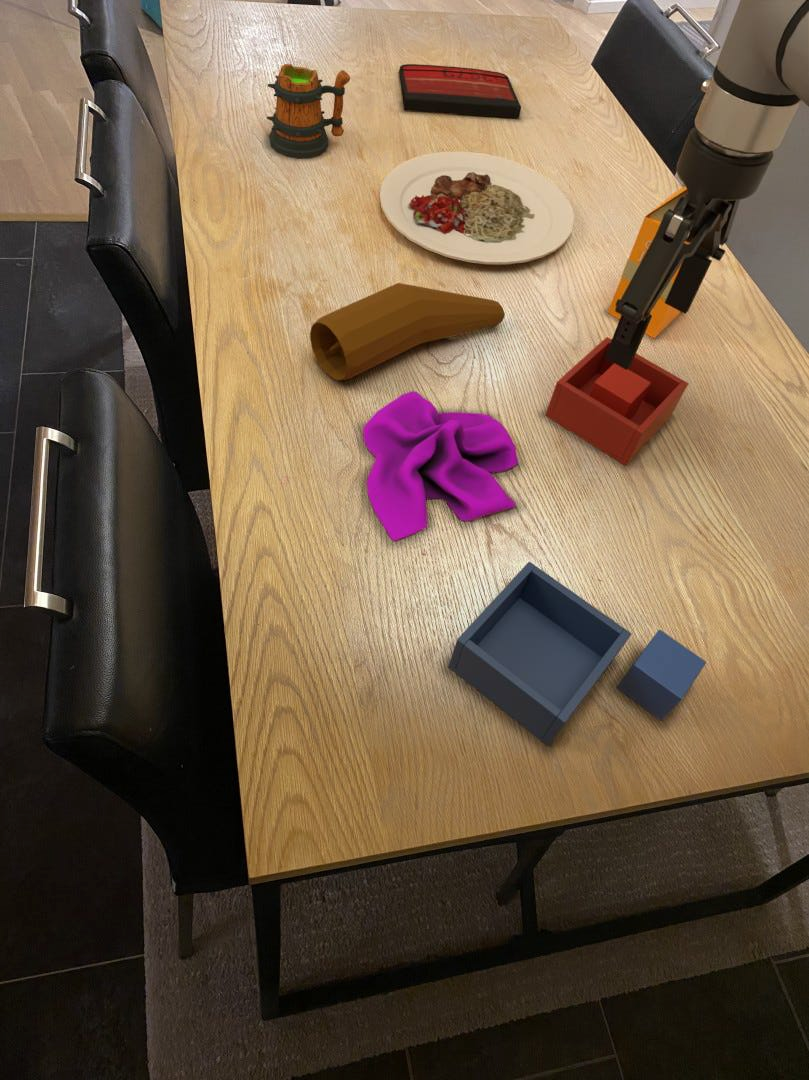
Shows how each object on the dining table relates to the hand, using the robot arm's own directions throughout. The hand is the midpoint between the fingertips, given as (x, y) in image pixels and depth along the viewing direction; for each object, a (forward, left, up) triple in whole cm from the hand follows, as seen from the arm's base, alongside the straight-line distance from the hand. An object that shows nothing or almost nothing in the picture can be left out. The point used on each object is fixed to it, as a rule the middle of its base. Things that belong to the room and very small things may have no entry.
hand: (647, 333), depth 83 cm
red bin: (0, 0, -13) cm, 13 cm away
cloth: (+10, +22, -13) cm, 28 cm away
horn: (+26, +8, -13) cm, 31 cm away
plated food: (+38, -23, -13) cm, 47 cm away
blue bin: (-12, +35, -13) cm, 39 cm away
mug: (+69, -18, -13) cm, 73 cm away
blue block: (-22, +29, -13) cm, 38 cm away
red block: (0, 0, -12) cm, 13 cm away
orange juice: (+7, -22, -13) cm, 27 cm away
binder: (+64, -52, -13) cm, 84 cm away
